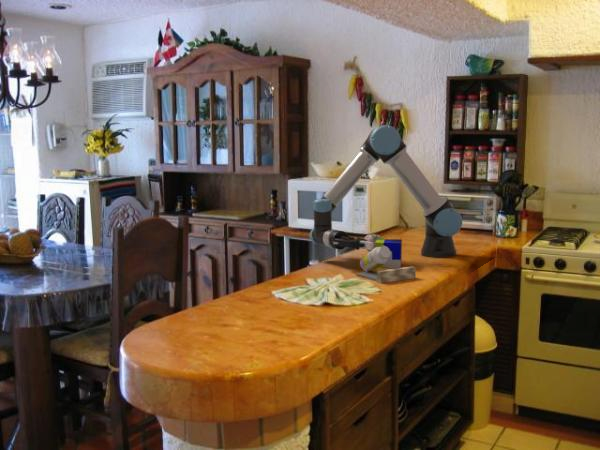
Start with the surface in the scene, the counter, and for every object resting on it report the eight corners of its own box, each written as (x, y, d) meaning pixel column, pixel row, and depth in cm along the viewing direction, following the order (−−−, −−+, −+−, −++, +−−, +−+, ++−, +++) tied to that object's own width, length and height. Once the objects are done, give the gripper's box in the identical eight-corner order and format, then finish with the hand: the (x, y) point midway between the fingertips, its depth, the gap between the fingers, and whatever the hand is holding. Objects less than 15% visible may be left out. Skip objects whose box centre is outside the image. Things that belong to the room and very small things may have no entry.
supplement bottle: (377, 264, 237) (396, 252, 227) (369, 276, 233) (388, 263, 223) (364, 253, 237) (382, 239, 226) (356, 264, 233) (374, 251, 222)
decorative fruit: (386, 254, 274) (386, 232, 273) (370, 256, 271) (370, 233, 270) (376, 251, 283) (376, 229, 282) (360, 252, 280) (360, 231, 279)
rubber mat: (385, 271, 237) (385, 269, 236) (409, 277, 225) (409, 275, 225) (355, 275, 229) (355, 273, 229) (379, 281, 217) (379, 280, 217)
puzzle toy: (400, 268, 243) (400, 243, 242) (374, 267, 245) (375, 242, 244) (401, 263, 253) (401, 239, 252) (376, 263, 255) (377, 239, 254)
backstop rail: (411, 277, 225) (411, 266, 225) (415, 278, 223) (415, 267, 223) (376, 282, 217) (377, 271, 216) (380, 283, 215) (380, 272, 215)
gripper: (349, 246, 254) (385, 254, 234) (322, 250, 248) (357, 258, 228) (349, 228, 254) (385, 234, 233) (322, 231, 247) (357, 237, 227)
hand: (371, 246), depth 231 cm, fingers closed
